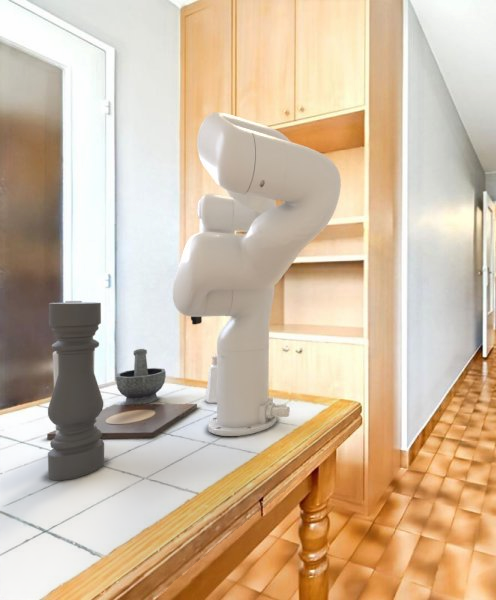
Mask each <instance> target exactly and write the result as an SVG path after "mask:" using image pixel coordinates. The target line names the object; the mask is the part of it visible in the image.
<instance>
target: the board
mask: <svg viewBox="0 0 496 600" xmlns="http://www.w3.org/2000/svg"><path fill="white" fill-rule="evenodd" d="M197 409H198V404H197V403H154V404H153V403H146V404H126V403H125V404H123V403H122V404H119V403H118V404H112V405H110V406H107V407H106V408H103V409H102V411H101V413H100V414H99V415H98V416H97V417H96V418H95V419H96V423H95V424H94V426H96V427H97V428H98V429H99V430H100V431H101V433H102V436H101V437H100V438H99V439H152V438H154V437H155V436H158V434H160V433H162V432H163V431H165V430H166V429H168V428H169V427H171V426H172V425H174V424H175V423H177V422H179V421H180V420H182V419H183V418H184V417H186V416H187V415H190V413H192V412H194V411H195V410H197ZM55 435H56V429H55V430H53V431H50V432H48V433H47V434H46V439H47V440H53V439H54V437H55Z"/></svg>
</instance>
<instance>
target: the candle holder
mask: <svg viewBox="0 0 496 600" xmlns="http://www.w3.org/2000/svg"><path fill="white" fill-rule="evenodd" d="M101 324H102V304H101V302H93V301H90V302H87V301H85V302H84V301H82V302H68V303H65V302H49V303H48V326H49V327H51V332H52V333H53V334H54V335H55V337H56V338H57V341H56V342H54V343H53V344H51V350H52V351H53V352H55V351H56V353H57V354H58V377H57V380H56V384H55V387H54V386H53V391H52V394H51V398H50V401H49V405H48V408H47V416H48V418H49V420H50V421H51V423H52V424H53V425H55V430H56V429H57V430H58V431H59V432H58V433H57V434H56V435H55V437H54V439H50V444H49V445H50V448H52V449H51V450H49V451H48V452H47V473H48V474H47V475H48V477H47V478H48V479H49V480H51V481H66V480H67V481H68V480H73V479H77V478H81V477H84V476H86V475H90V474H91V473H94V472H96V471H97V470H99V469H101V468H102V467H103V466H104V464H105V441H104V439H102V438H100V437H101V436H102V433H101V431H100V430H99V429H98V428H97V427H96V426H94V424H95V423H96V419H95V418H96V417H97V416H98V415H99V414H100V413H101V411H102V410H103V409H104V399H103V396H102V393H101V390H100V387H99V383H98V381H97V377H96V375H95V370H94V371H93V351H94V352H95V351H96V349H97V348H98V347H99V346H100V342H99V341H98V340H96V339H94V336H95V335H96V332H97V331H98V330H99V325H101ZM56 425H57V426H56Z"/></svg>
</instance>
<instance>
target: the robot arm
mask: <svg viewBox="0 0 496 600" xmlns="http://www.w3.org/2000/svg"><path fill="white" fill-rule="evenodd" d="M196 144H197V145H196V148H197V154H198V156H199V157H198V158H199V160H200V161H201V164H202V166H203V167H204V168H205V169H206V171H207V172H208V174H209V175H210V176H211V178H212V179H213V180H214V181H215V184H217V185H218V186H219V187H220V188H222V189H223V190H225V191H226V192H227V194H228V195H223V194H218V193H206V194H204V195H203V196H202V197H201V198H200V199H199V200H198V202H197V217H198V219H199V232H197V233H195V234H193V235H191V236H190V237H189V239H188V240H187V242H186V244H185V246H184V248H183V252H182V255H181V257H180V261H179V264H178V267H177V270H176V274H175V277H174V281H173V285H172V301H173V304H174V306H175V308H176V310H177V311H178V312H179V313H180V314H182V315H184V316H186V317H190V321H191V324H192V325H199V324H202V320H203V319H202V317H203V318H204V317H205V318H206V317H230V319H228V321H227V323H226V324H225V325H224V326H223V327H222V329H221V330H220V332H219V333H218V337H217V341H216V355H217V403H216V415H215V416H214V417H212V418H211V419H210V420H209V421H208V422H207V430H208V431H209V433H211V434H213V435H216V436H221V437H239V436H246V435H252V434H256V433H259V432H261V431H265V430H267V429H269V428H270V427H272V426H274V424H276V422H277V417H279V418H288V417H289V416H290V408H291V407H290V406H287V404H286V403H280V404H276V403H275V402H274V397H271V396H269V395H270V394H269V391H270V390H269V387H270V385H269V384H270V381H269V380H270V373H269V372H270V369H269V368H270V325H271V324H270V323H271V314H272V307H273V302H274V296H275V285H276V284H278V283H279V281H280V280H281V279H282V277H283V276H284V275H285V274H286V272H287V271H288V269H289V268H290V267H291V265H292V264H293V263H294V262H295V260H296V259H297V257H298V256H299V254H300V253H301V252H302V251H303V250H304V249H305V248H306V247H307V246H308V245H309V244H311V242H312V241H314V240H315V239H316V238H317V237H318V235H320V234H321V233H322V232H323V230H325V228H326V227H327V225H328V224H329V222H330V221H331V219H332V217H333V216H334V213H335V211H336V209H337V206H338V202H339V199H340V195H341V187H342V184H341V182H342V181H341V175H340V171H339V169H338V167H337V165H336V164H335V162H334V161H332V160H331V158H329V157H328V156H326V155H325V154H323V153H321V152H320V151H317V150H315V149H313V148H310V147H308V146H306V145H302V144H299V143H296V142H292V141H291V140H290V139H289V138H288V137H287V136H286V135H285V134H284V133H282V132H281V131H279V130H278V129H275V128H272V127H270V126H268V125H264V124H262V123H258V122H254V121H252V120H248V119H246V118H242V117H239V116H236V115H233V114H230V113H226V112H223V111H215V112H211V113H209V114H208V115H207V116H206V117H205V118H204V119H203V121H202V122H201V124H200V127H199V129H198V132H197V139H196ZM277 201H280V202H282V203H280V204H277ZM236 232H243V234H237V233H236Z"/></svg>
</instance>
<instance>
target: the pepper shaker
mask: <svg viewBox="0 0 496 600" xmlns="http://www.w3.org/2000/svg"><path fill="white" fill-rule="evenodd" d="M211 359H212V360H211V362H212V363H211V364H212V365H209V368H208V375H207V384H206V394H205V401H206V402H207V403H208V404H217V354H213V355H212V356H211Z"/></svg>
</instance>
